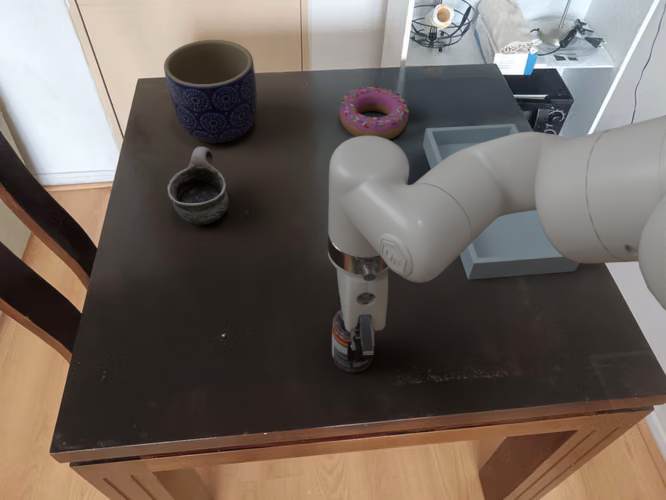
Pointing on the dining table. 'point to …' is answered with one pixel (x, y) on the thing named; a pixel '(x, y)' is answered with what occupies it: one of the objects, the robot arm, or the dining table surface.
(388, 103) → the donut
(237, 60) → the planter
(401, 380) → the dining table surface
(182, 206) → the mug
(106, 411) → the dining table surface
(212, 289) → the dining table surface
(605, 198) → the robot arm
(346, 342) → the supplement bottle
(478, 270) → the blue-grey tray
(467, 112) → the dining table surface
